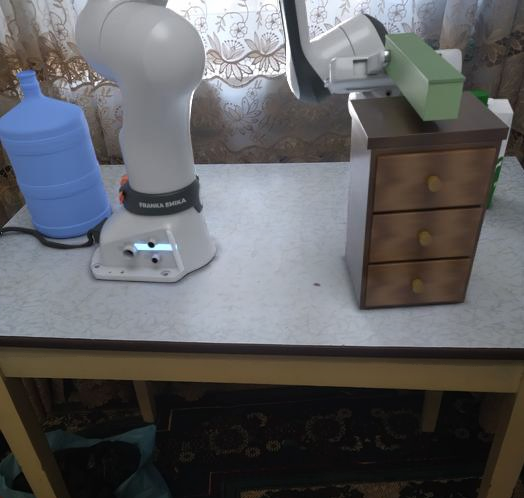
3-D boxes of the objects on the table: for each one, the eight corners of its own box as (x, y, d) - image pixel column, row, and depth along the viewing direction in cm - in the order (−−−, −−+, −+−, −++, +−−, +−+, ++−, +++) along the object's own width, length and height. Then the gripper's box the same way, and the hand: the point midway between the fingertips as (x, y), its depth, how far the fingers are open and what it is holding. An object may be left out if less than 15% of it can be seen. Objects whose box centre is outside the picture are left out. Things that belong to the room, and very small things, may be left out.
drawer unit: (357, 316, 79) (370, 143, 62) (342, 257, 92) (349, 99, 74) (471, 309, 79) (515, 132, 61) (440, 251, 91) (469, 90, 74)
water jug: (119, 228, 105) (77, 75, 86) (38, 247, 101) (-23, 92, 83) (106, 197, 116) (66, 56, 97) (33, 214, 112) (-23, 70, 94)
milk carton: (443, 189, 109) (461, 85, 95) (489, 191, 107) (514, 85, 94) (445, 209, 102) (465, 100, 89) (494, 211, 100) (522, 100, 87)
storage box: (422, 121, 62) (428, 80, 59) (382, 68, 80) (385, 34, 77) (458, 119, 62) (466, 77, 59) (410, 66, 80) (413, 32, 77)
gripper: (321, 67, 88) (331, 35, 75) (444, 58, 88) (476, 24, 74) (323, 107, 89) (333, 83, 76) (443, 98, 89) (475, 72, 75)
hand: (405, 54), depth 75 cm, fingers closed on storage box, 4 cm apart
